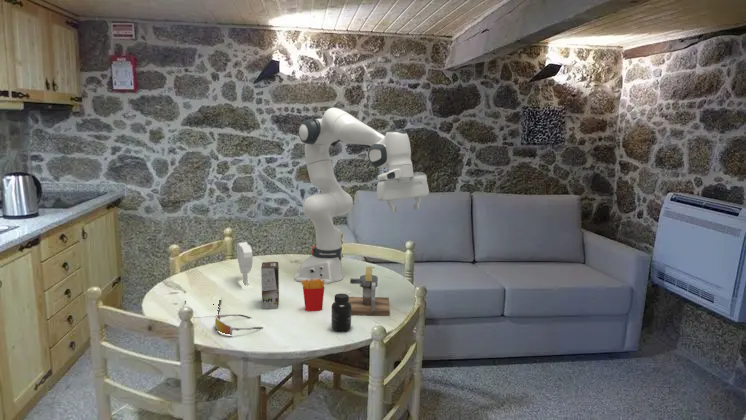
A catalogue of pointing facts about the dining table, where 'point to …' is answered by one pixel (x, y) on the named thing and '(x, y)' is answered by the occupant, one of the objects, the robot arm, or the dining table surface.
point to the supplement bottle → (341, 313)
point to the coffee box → (270, 285)
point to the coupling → (365, 279)
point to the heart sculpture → (244, 260)
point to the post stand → (369, 303)
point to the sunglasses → (226, 328)
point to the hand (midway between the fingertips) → (405, 210)
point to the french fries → (313, 294)
